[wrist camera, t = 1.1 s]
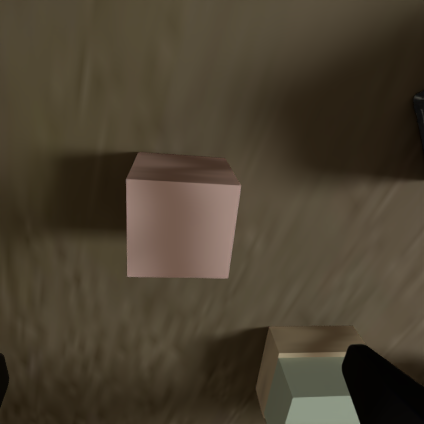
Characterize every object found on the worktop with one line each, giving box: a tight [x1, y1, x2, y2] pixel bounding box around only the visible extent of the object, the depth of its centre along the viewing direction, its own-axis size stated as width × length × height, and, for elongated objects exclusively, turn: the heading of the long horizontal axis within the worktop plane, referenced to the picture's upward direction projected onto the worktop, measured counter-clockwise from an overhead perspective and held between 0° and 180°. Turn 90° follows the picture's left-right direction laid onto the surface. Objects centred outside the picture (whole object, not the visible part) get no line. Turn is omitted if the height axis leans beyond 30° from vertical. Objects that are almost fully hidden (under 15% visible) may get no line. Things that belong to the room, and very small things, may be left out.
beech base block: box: [256, 326, 366, 418], centre depth 25 cm, size 7×7×3 cm
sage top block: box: [264, 357, 360, 424], centre depth 22 cm, size 6×6×3 cm
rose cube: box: [126, 152, 241, 278], centre depth 17 cm, size 5×5×5 cm
